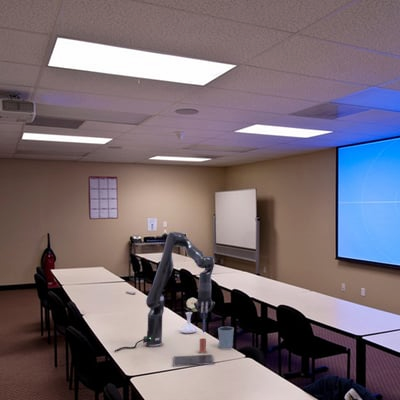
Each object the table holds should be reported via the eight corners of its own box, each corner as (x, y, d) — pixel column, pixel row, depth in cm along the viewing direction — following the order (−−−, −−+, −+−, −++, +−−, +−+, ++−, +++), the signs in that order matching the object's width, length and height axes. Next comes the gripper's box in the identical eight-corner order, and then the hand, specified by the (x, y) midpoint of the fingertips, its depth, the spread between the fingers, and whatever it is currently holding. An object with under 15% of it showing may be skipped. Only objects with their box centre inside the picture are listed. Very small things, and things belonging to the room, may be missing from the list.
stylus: (202, 332, 251) (203, 310, 251) (202, 332, 252) (203, 310, 252) (204, 332, 251) (205, 310, 251) (204, 332, 252) (205, 310, 252)
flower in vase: (177, 333, 299) (177, 297, 300) (186, 329, 310) (186, 295, 310) (193, 335, 294) (193, 299, 295) (201, 331, 305) (202, 296, 305)
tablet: (173, 366, 235) (173, 364, 235) (174, 357, 249) (174, 356, 249) (213, 364, 239) (213, 362, 239) (211, 355, 253) (211, 354, 253)
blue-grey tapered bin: (221, 350, 263) (221, 331, 263) (215, 346, 272) (215, 327, 272) (236, 348, 268) (236, 329, 268) (230, 343, 276) (230, 325, 277)
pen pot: (199, 353, 257) (199, 340, 257) (199, 351, 260) (199, 338, 261) (205, 353, 257) (206, 340, 258) (205, 351, 261) (205, 338, 261)
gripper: (215, 288, 257) (215, 317, 257) (193, 288, 255) (192, 317, 254) (216, 290, 250) (215, 320, 249) (193, 290, 247) (192, 320, 247)
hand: (204, 318), depth 252 cm, fingers closed on stylus, 1 cm apart
